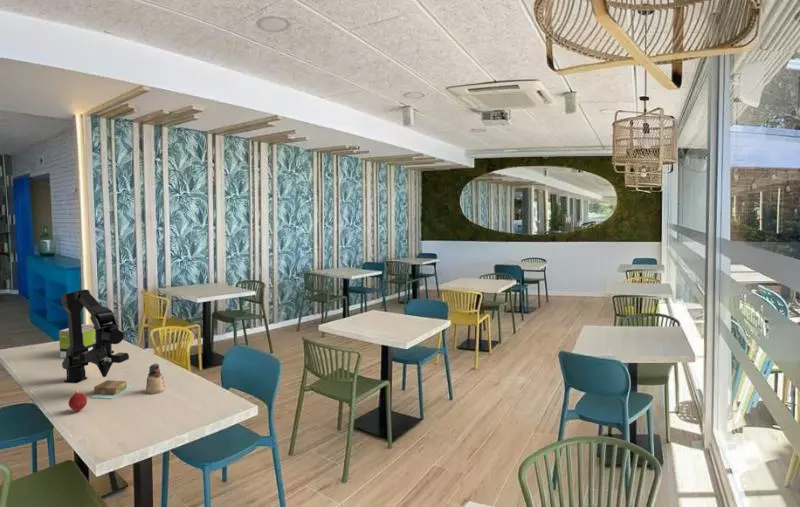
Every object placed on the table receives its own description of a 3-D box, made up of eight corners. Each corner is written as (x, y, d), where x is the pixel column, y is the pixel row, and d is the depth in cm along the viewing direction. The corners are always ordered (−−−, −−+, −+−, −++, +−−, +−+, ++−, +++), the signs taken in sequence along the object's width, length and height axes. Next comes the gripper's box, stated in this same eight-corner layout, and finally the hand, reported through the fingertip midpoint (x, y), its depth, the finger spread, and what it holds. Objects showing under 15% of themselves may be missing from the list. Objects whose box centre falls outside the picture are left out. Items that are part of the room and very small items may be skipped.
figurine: (161, 387, 213) (161, 360, 212) (167, 391, 208) (166, 363, 207) (143, 390, 208) (143, 363, 207) (149, 395, 203) (148, 367, 202)
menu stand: (94, 386, 201) (114, 387, 201) (107, 380, 209) (126, 381, 208) (94, 394, 202) (114, 395, 201) (107, 387, 210) (127, 388, 209)
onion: (90, 409, 187) (90, 389, 186) (76, 415, 182) (75, 394, 181) (79, 407, 189) (79, 387, 188) (65, 413, 183) (64, 392, 183)
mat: (90, 397, 199) (90, 396, 199) (113, 385, 212) (113, 385, 212) (111, 399, 198) (111, 398, 198) (133, 387, 212) (133, 386, 212)
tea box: (82, 350, 265) (81, 323, 264) (99, 351, 263) (98, 324, 262) (59, 358, 250) (58, 329, 249) (76, 359, 249) (76, 331, 247)
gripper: (67, 344, 197) (69, 382, 198) (111, 346, 195) (112, 384, 196) (87, 337, 208) (89, 373, 209) (129, 339, 206) (130, 375, 207)
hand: (104, 376), depth 205 cm, fingers closed
